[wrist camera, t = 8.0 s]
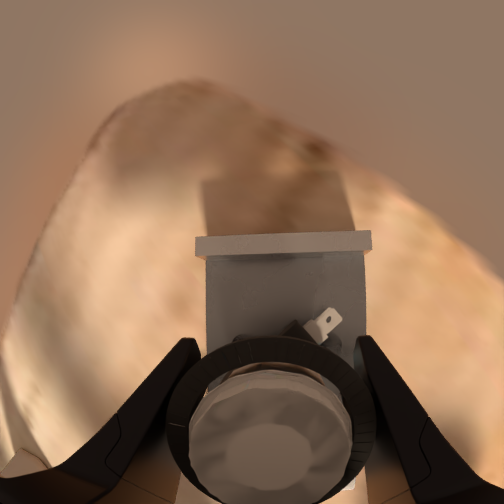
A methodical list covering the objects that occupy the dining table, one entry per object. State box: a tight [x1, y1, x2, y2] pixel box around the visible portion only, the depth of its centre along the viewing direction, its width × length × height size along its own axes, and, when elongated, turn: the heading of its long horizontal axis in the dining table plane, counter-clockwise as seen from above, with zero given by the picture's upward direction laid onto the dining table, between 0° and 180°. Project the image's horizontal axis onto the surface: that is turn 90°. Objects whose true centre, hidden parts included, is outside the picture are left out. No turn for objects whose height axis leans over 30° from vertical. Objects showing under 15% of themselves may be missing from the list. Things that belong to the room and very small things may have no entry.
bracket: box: [195, 230, 372, 491], centre depth 16 cm, size 16×9×3 cm, turn 1°
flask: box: [0, 448, 47, 478], centre depth 14 cm, size 7×7×10 cm
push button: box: [166, 308, 376, 504], centre depth 11 cm, size 7×5×10 cm
